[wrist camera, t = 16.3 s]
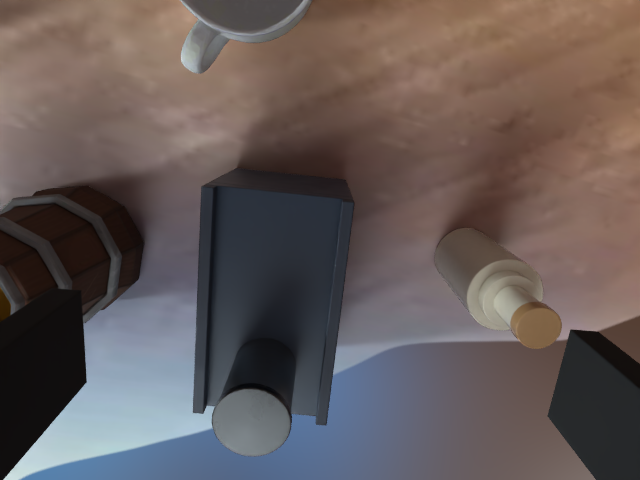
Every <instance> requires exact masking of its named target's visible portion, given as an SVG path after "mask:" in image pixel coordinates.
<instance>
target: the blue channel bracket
mask: <svg viewBox="0 0 640 480" xmlns="http://www.w3.org/2000/svg"><path fill="white" fill-rule="evenodd" d="M353 210H354V201H353V198H352V195H351V193H350V190H349V187H348V185H347V182H346V180H344V179H334V178H325V177H316V176H306V175H297V174H287V173H278V172H269V171H259V170H250V169H240V168H236V169H234V170H232V171H230V172H228V173H226V174H224V175H222V176H221V177H219V178H217V179H215V180H213V181H211V182H209V183H207V184H206V185H204V186H202V187H201V213H200V239H199V265H198V291H197V317H196V344H195V370H194V396H193V413H201V414H203V413H204V411H205V408H206V406H215V405H216V403H217V401H218V400H219V398H220V397H221V394H222V391H223V389H224V386H225V383H226V381H227V378H228V376H229V373H230V370H231V368H232V365H233V362H234V360H235V357H236V355H237V353H238V351H239V350H240V348H241V347H242V346H243V345H245V344H246V343H248V342H250V341H252V340H255V339H259V338H269V339H273V340H276V341H279V342H281V343H282V344H284V345H285V346H286V347H287V348H288V349H289V350H290V351H291V352H292V354H293V356H294V358H295V362H296V373H295V382H294V391H293V399H292V408H291V414H299V415H309V416H316V425H326V424H327V416H328V408H329V401H330V392H331V384H332V377H333V369H334V361H335V353H336V345H337V337H338V329H339V321H340V313H341V305H342V297H343V290H344V282H345V274H346V266H347V258H348V250H349V242H350V234H351V226H352V218H353Z"/></svg>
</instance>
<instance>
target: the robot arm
mask: <svg viewBox="0 0 640 480" xmlns="http://www.w3.org/2000/svg"><path fill="white" fill-rule="evenodd" d="M86 382H87V381H86V363H85V346H84V328H83V311H82V294H81V290H70V289H58V288H51V289H49V290H48V291H46V292H45V293H43V294H42V295H40V296H39V297H37V298H36V299H34V300H33V301H31V302H30V303H28V304H27V305H25V306H24V307H22V308H21V309H19V310H18V311H16V312H15V313H13V314H12V315H10V316H9V317H7V318H6V319H4V320H2V321H1V322H0V480H3V479H4V478H5V477H6V476H7V475H8V473H9V472H10V471H11V470H12V469H13V468H14V466H15V465H16V464H17V463H18V462H19V461H20V459H21V458H22V457H23V456H24V455H25V454H26V452H27V451H28V450H29V449H30V448H31V447H32V445H33V444H34V443H35V442H36V441H37V440H38V438H39V437H40V436H41V435H42V434H43V433H44V431H45V430H46V429H47V428H48V427H49V425H50V424H51V423H52V422H53V421H54V420H55V418H56V417H57V416H58V415H59V414H60V413H61V411H62V410H63V409H64V408H65V407H66V406H67V404H68V403H69V402H70V401H71V400H72V399H73V397H74V396H75V395H76V394H77V393H78V392H79V390H80V389H81V388H82V387H83V386H84V385H85V383H86ZM548 417H549V418H550V420H551V421H552V423H553V424H554V425H555V426H556V428H557V429H558V430H559V432H560V433H561V434H562V436H563V437H564V438H565V440H566V441H567V442H568V443H569V445H570V446H571V447H572V449H573V450H574V451H575V453H576V454H577V455H578V457H579V458H580V459H581V461H582V462H583V463H584V465H585V466H586V467H587V468H588V470H589V471H590V472H591V474H592V475H593V476H594V478H595V479H596V480H640V364H639V363H638V362H636V361H635V360H634V359H632V358H631V357H630V356H629V355H627V354H626V353H625V352H623V351H622V350H621V349H620V348H618V347H617V346H616V345H615V344H613V343H612V342H611V341H609V340H608V339H607V338H606V337H604V336H603V335H602V334H600V333H599V332H595V331H583V330H570V334H569V337H568V341H567V345H566V349H565V352H564V356H563V360H562V364H561V368H560V371H559V375H558V379H557V383H556V387H555V390H554V394H553V398H552V402H551V405H550V409H549V413H548Z"/></svg>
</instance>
